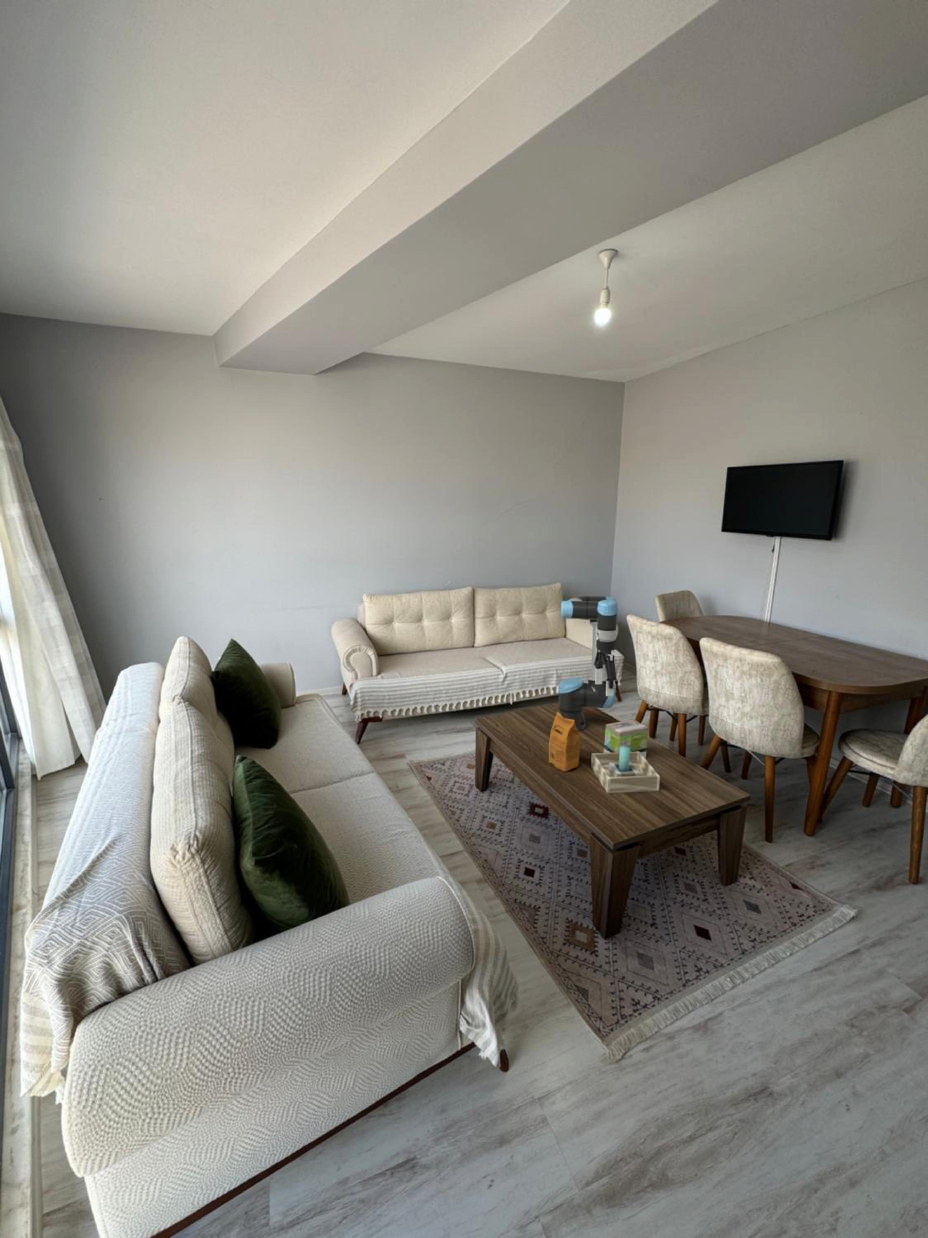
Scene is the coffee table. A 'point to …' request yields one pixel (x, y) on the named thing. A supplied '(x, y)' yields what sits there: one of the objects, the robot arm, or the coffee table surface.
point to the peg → (624, 759)
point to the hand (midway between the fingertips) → (603, 689)
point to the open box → (624, 773)
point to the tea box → (626, 737)
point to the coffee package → (564, 744)
